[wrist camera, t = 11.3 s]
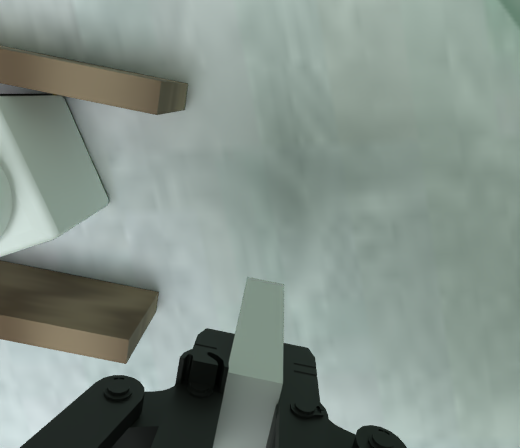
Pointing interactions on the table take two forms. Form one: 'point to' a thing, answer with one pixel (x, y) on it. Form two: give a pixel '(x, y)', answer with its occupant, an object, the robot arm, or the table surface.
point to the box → (66, 285)
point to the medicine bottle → (42, 172)
